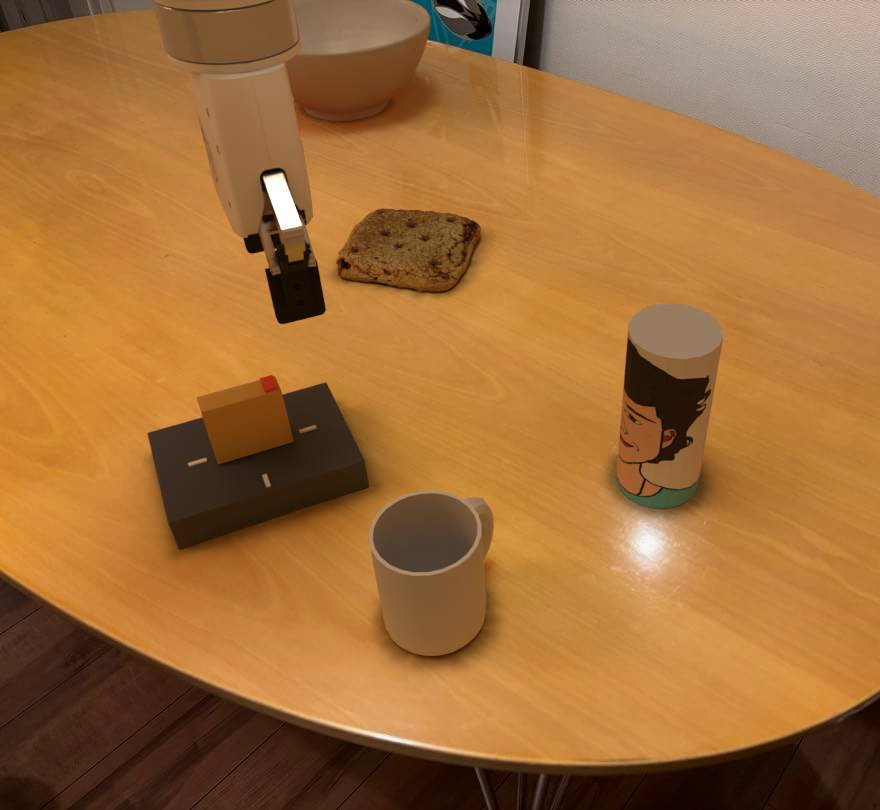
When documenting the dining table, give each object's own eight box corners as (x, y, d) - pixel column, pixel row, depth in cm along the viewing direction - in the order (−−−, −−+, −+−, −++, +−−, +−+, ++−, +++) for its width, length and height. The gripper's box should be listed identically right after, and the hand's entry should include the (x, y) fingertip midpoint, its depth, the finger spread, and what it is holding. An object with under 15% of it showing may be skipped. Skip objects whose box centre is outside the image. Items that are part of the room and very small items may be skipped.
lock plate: (178, 549, 67) (167, 521, 65) (157, 458, 74) (146, 431, 72) (369, 486, 72) (364, 458, 70) (331, 407, 79) (325, 380, 77)
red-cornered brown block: (218, 465, 69) (200, 409, 66) (213, 449, 71) (195, 394, 67) (293, 442, 71) (280, 387, 68) (287, 427, 73) (274, 372, 69)
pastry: (310, 243, 101) (305, 219, 99) (444, 204, 108) (442, 181, 106) (373, 316, 90) (369, 291, 88) (518, 268, 97) (517, 244, 95)
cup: (362, 625, 62) (344, 541, 56) (454, 536, 68) (446, 452, 62) (441, 678, 58) (431, 595, 53) (530, 580, 65) (529, 495, 59)
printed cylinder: (639, 440, 76) (654, 293, 66) (711, 469, 73) (738, 321, 64) (601, 487, 72) (611, 338, 62) (676, 520, 69) (699, 370, 59)
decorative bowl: (453, 76, 140) (448, -4, 133) (410, 148, 120) (401, 58, 112) (292, 67, 143) (278, -12, 135) (223, 136, 123) (202, 47, 115)
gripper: (142, -7, 55) (208, 236, 66) (185, 87, 43) (256, 364, 54) (263, -21, 58) (307, 215, 69) (335, 64, 46) (373, 333, 57)
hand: (284, 280), depth 62 cm, fingers open, 9 cm apart
